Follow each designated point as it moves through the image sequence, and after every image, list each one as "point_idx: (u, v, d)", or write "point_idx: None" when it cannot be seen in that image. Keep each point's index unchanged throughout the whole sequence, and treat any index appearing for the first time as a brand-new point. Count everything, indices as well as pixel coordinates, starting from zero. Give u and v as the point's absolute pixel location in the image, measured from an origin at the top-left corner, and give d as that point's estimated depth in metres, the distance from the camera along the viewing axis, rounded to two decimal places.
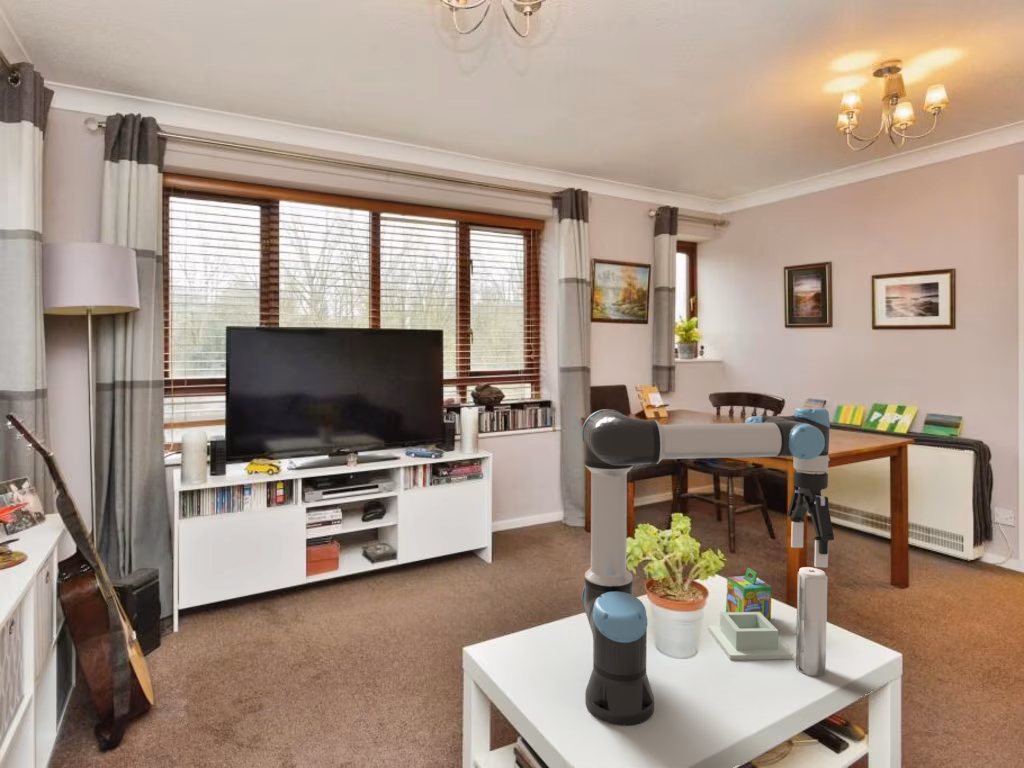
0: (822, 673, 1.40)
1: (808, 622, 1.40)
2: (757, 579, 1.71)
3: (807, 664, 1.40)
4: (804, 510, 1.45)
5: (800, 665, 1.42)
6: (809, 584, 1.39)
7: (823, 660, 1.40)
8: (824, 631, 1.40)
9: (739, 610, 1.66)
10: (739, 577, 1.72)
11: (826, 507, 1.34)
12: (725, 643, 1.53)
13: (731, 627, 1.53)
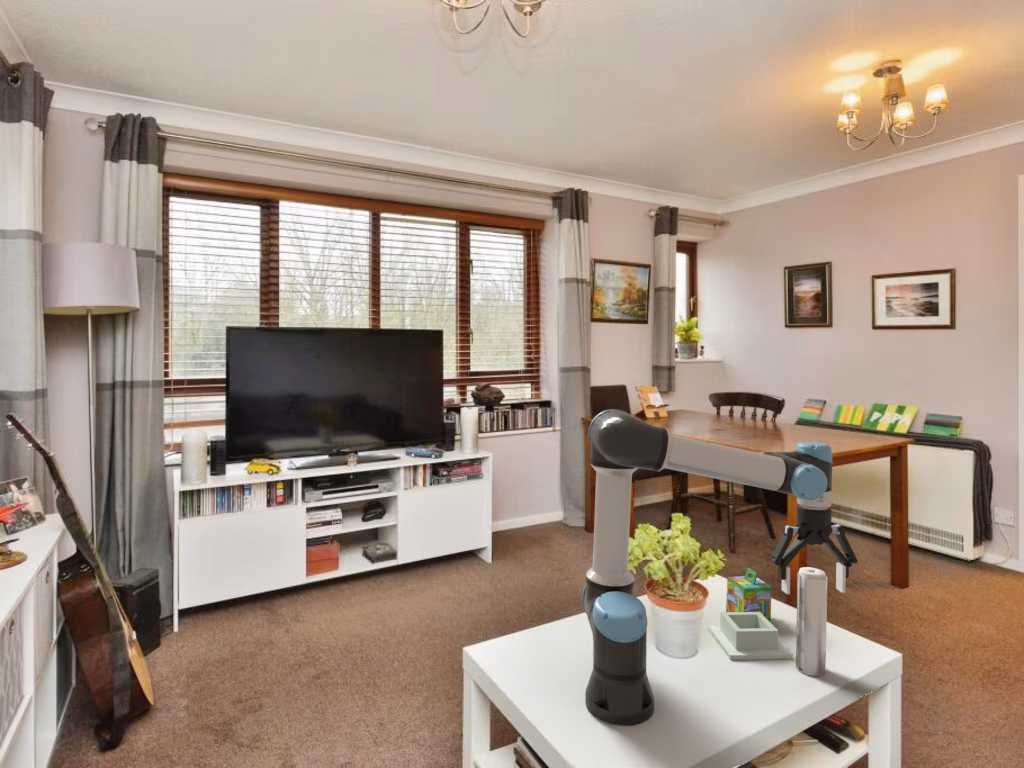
0: (822, 673, 1.40)
1: (808, 622, 1.40)
2: (757, 579, 1.71)
3: (807, 664, 1.40)
4: (832, 550, 1.41)
5: (800, 665, 1.42)
6: (809, 584, 1.39)
7: (823, 660, 1.40)
8: (824, 631, 1.40)
9: (739, 610, 1.66)
10: (739, 577, 1.72)
11: (786, 536, 1.40)
12: (725, 643, 1.53)
13: (731, 627, 1.53)
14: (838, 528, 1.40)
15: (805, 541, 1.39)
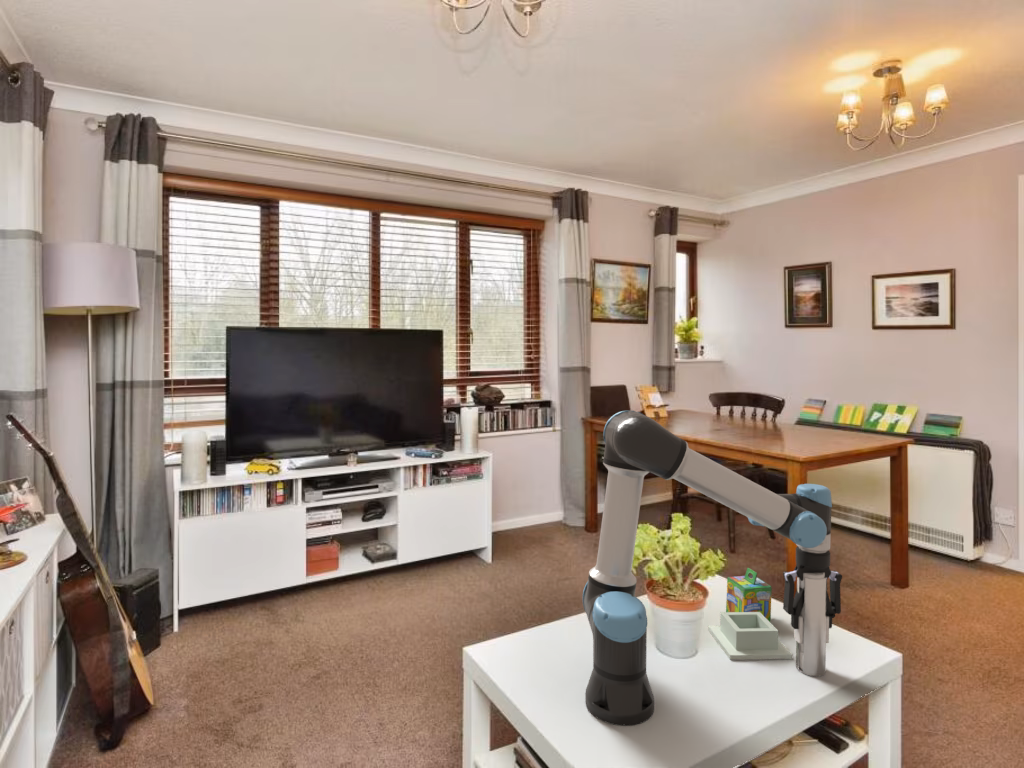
0: (822, 673, 1.40)
1: (808, 622, 1.40)
2: (757, 579, 1.71)
3: (807, 664, 1.40)
4: None
5: (800, 665, 1.42)
6: (809, 584, 1.39)
7: (823, 660, 1.40)
8: (824, 631, 1.40)
9: (739, 610, 1.66)
10: (739, 577, 1.72)
11: (788, 584, 1.41)
12: (725, 643, 1.53)
13: (731, 627, 1.53)
14: (836, 575, 1.41)
15: None
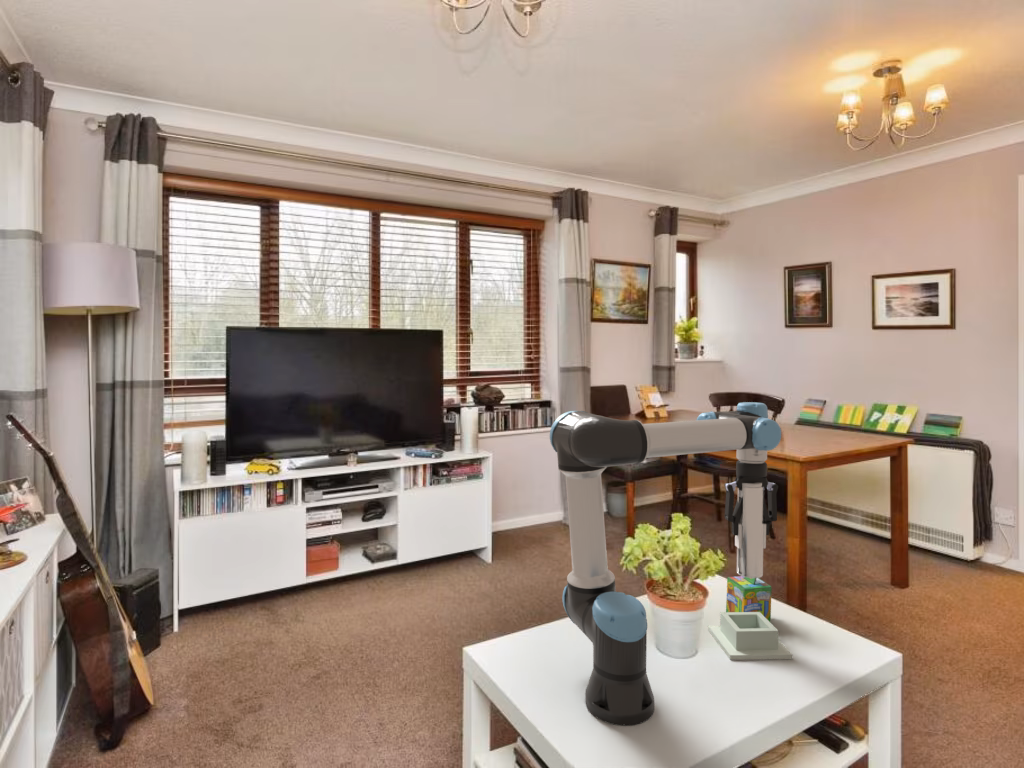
0: (759, 575, 1.52)
1: (746, 528, 1.51)
2: (757, 579, 1.71)
3: (746, 566, 1.52)
4: None
5: (740, 569, 1.54)
6: (747, 492, 1.51)
7: (760, 563, 1.52)
8: (761, 536, 1.51)
9: (739, 610, 1.66)
10: (739, 577, 1.72)
11: (728, 493, 1.52)
12: (725, 643, 1.53)
13: (731, 627, 1.53)
14: (773, 485, 1.52)
15: None
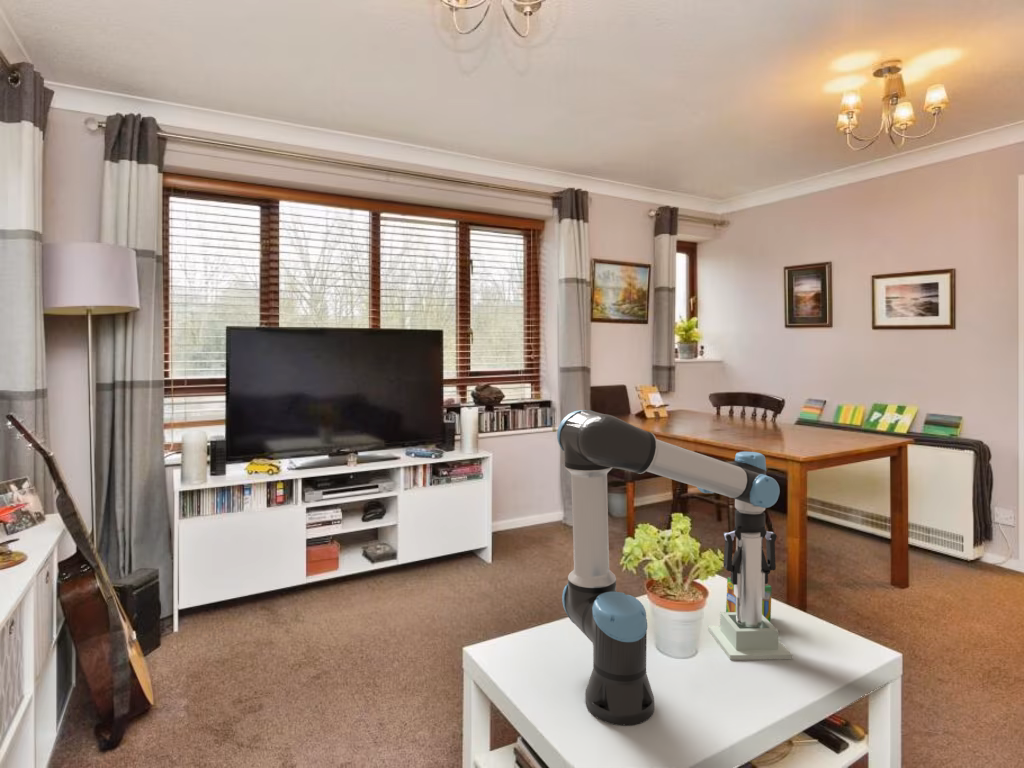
0: (758, 624, 1.52)
1: (745, 577, 1.52)
2: None
3: (745, 616, 1.53)
4: None
5: (739, 618, 1.55)
6: (746, 542, 1.52)
7: (759, 612, 1.52)
8: (759, 586, 1.52)
9: None
10: None
11: (727, 543, 1.53)
12: (725, 643, 1.53)
13: (731, 627, 1.53)
14: (771, 535, 1.53)
15: None
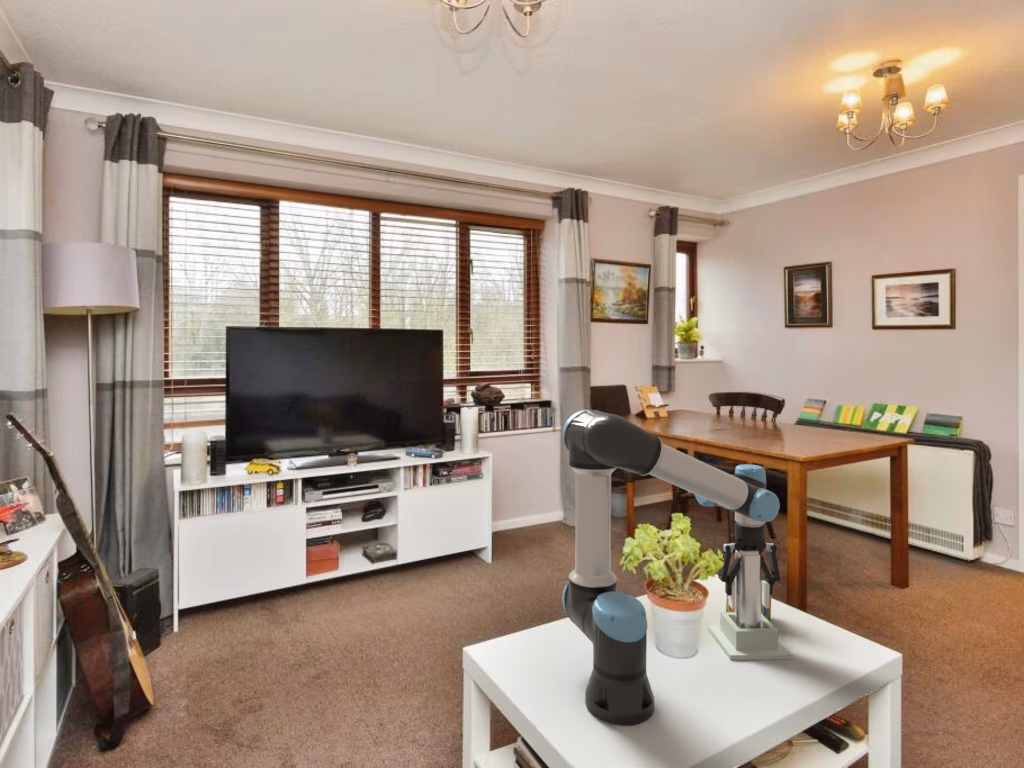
0: None
1: (744, 595, 1.52)
2: None
3: None
4: (761, 566, 1.54)
5: None
6: (744, 560, 1.52)
7: None
8: (758, 603, 1.52)
9: None
10: None
11: (726, 554, 1.53)
12: (725, 643, 1.53)
13: (731, 627, 1.53)
14: (771, 546, 1.54)
15: None
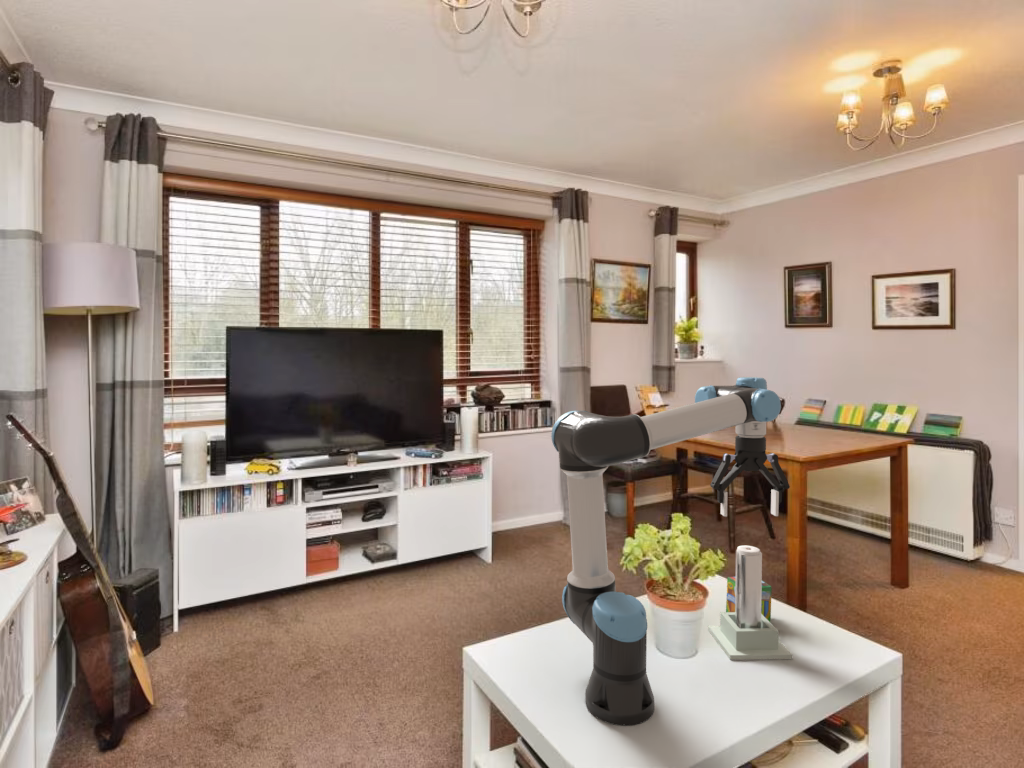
0: None
1: (744, 595, 1.52)
2: None
3: None
4: (767, 477, 1.53)
5: None
6: (745, 560, 1.52)
7: None
8: (759, 603, 1.52)
9: None
10: None
11: (724, 463, 1.52)
12: (725, 643, 1.53)
13: (731, 627, 1.53)
14: (772, 456, 1.52)
15: (741, 467, 1.51)
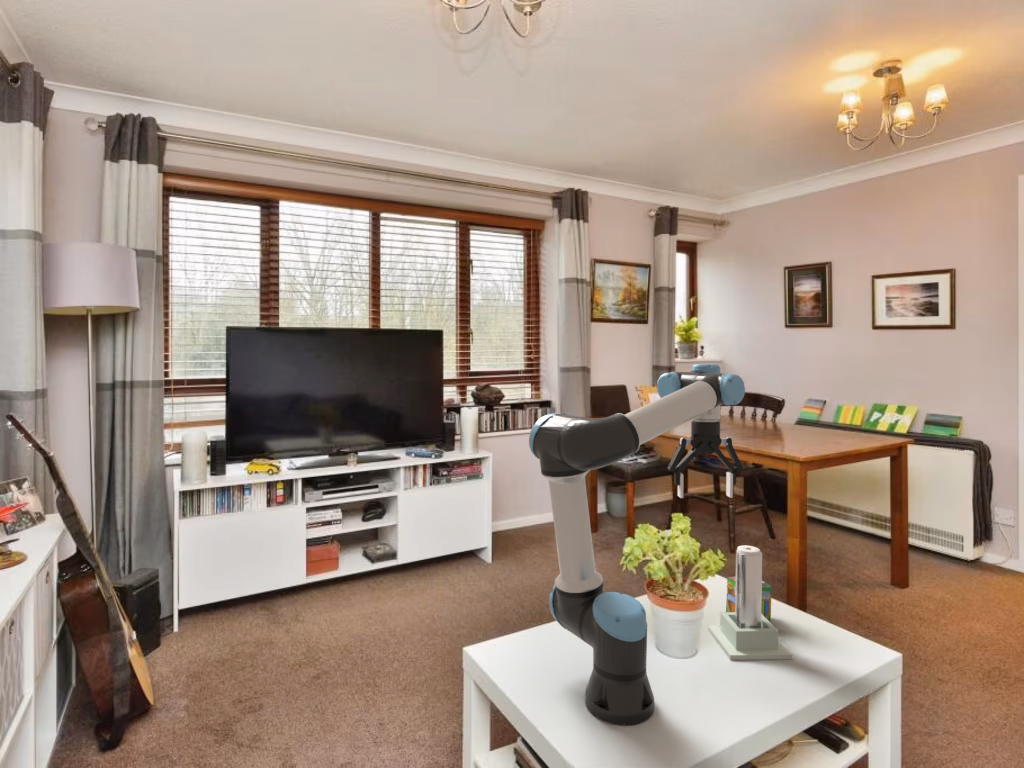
0: None
1: (744, 595, 1.52)
2: None
3: None
4: (721, 460, 1.58)
5: None
6: (745, 560, 1.52)
7: None
8: (759, 603, 1.52)
9: None
10: None
11: (680, 446, 1.58)
12: (725, 643, 1.53)
13: (731, 627, 1.53)
14: (726, 440, 1.58)
15: (696, 450, 1.57)
